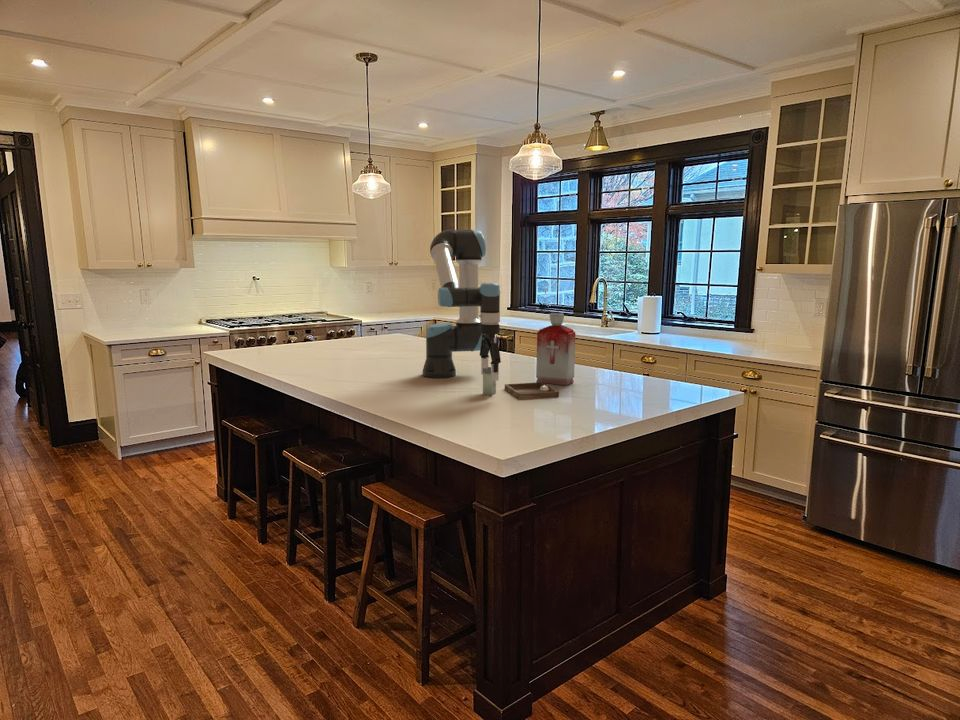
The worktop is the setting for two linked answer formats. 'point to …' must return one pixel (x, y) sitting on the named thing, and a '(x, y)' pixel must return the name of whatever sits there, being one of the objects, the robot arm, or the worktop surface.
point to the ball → (544, 389)
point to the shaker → (488, 383)
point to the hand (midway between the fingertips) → (489, 377)
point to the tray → (530, 390)
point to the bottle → (555, 353)
